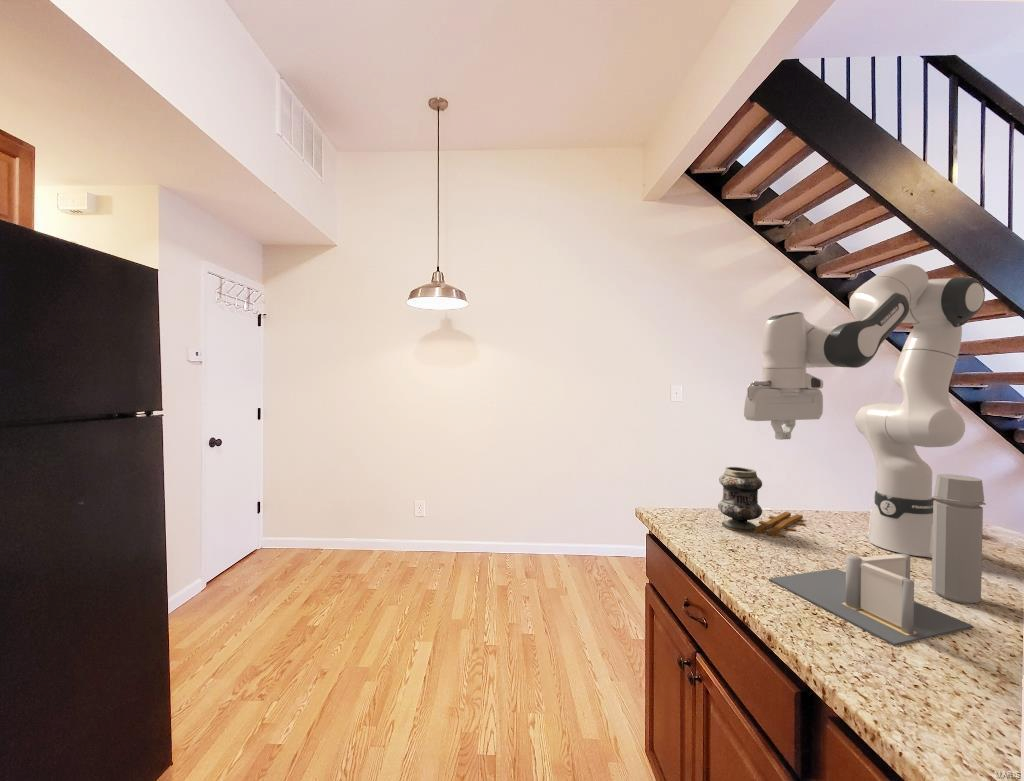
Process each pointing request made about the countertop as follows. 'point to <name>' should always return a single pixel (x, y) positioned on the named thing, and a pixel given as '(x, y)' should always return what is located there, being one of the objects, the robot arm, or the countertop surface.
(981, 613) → the countertop surface
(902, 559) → the beige rectangular panel
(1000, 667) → the countertop surface
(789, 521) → the decorative fence
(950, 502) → the water bottle
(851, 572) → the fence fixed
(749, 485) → the apothecary jar
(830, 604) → the mat
